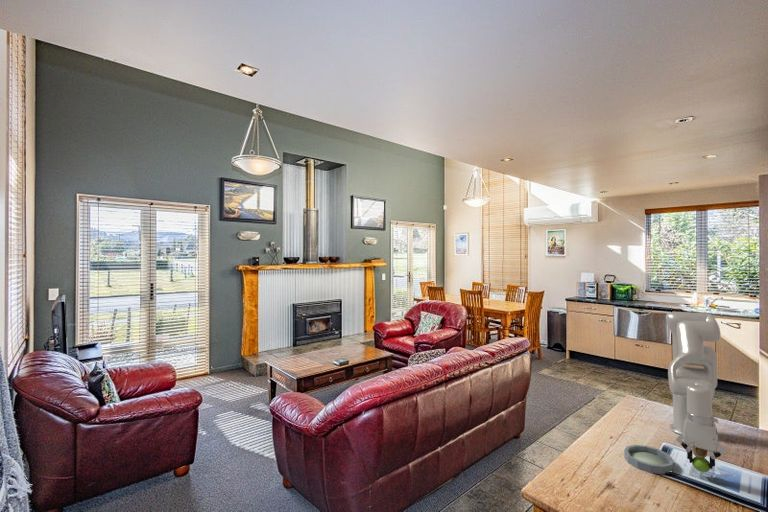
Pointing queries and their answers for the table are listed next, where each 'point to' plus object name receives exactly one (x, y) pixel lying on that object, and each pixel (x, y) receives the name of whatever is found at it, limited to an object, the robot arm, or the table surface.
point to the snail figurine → (700, 459)
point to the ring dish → (648, 459)
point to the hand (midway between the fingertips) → (701, 463)
